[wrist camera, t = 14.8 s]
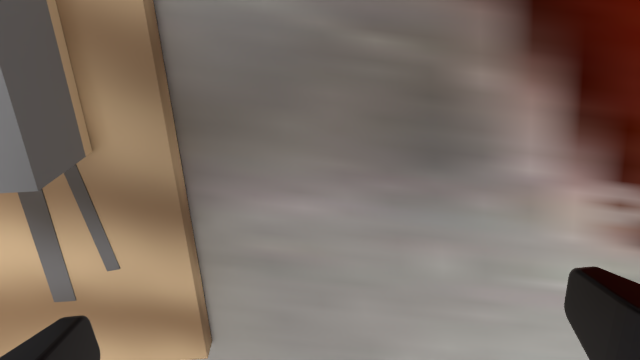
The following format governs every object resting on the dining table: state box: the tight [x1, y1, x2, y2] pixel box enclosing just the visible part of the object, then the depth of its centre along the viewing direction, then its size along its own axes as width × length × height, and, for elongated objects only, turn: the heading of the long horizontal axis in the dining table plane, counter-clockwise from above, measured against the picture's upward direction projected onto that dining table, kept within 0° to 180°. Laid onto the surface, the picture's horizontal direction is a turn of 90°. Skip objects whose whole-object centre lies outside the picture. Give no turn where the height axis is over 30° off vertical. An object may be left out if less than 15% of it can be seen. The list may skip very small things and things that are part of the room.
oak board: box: [0, 0, 212, 360], centre depth 19 cm, size 18×11×1 cm, turn 2°
